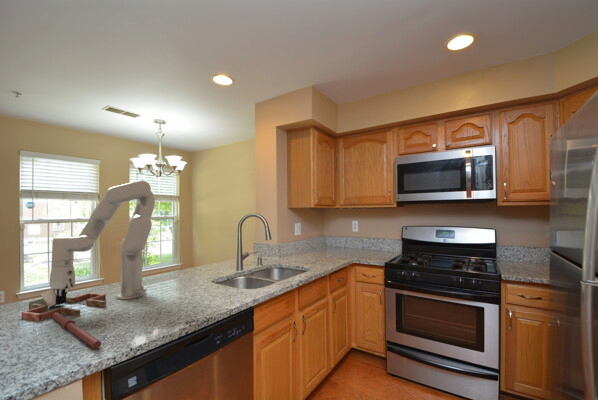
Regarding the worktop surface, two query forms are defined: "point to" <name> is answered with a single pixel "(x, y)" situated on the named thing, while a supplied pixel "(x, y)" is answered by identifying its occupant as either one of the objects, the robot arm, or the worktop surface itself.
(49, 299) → the white cylinder
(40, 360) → the worktop surface
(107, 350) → the worktop surface
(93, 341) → the red collared rod
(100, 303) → the box
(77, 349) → the worktop surface
